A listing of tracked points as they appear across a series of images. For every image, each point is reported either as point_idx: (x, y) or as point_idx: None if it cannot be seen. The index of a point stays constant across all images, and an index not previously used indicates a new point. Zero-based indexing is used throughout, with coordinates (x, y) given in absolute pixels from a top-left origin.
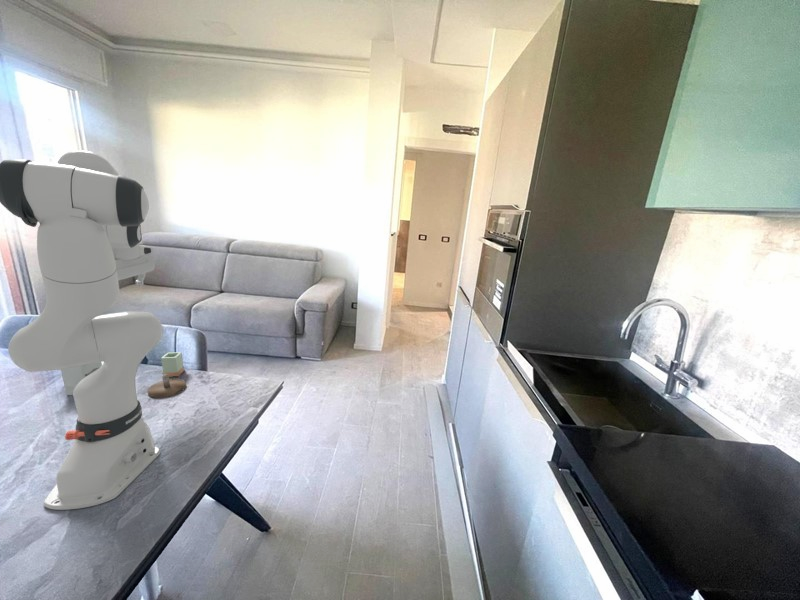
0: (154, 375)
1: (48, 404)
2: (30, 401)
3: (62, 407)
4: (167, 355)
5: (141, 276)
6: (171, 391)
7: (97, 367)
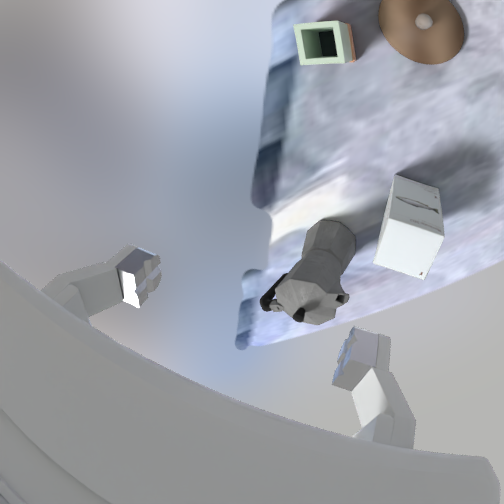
0: (345, 87)
1: (453, 238)
2: (432, 267)
3: (472, 211)
4: (315, 58)
5: (83, 295)
6: (446, 5)
7: (405, 203)
